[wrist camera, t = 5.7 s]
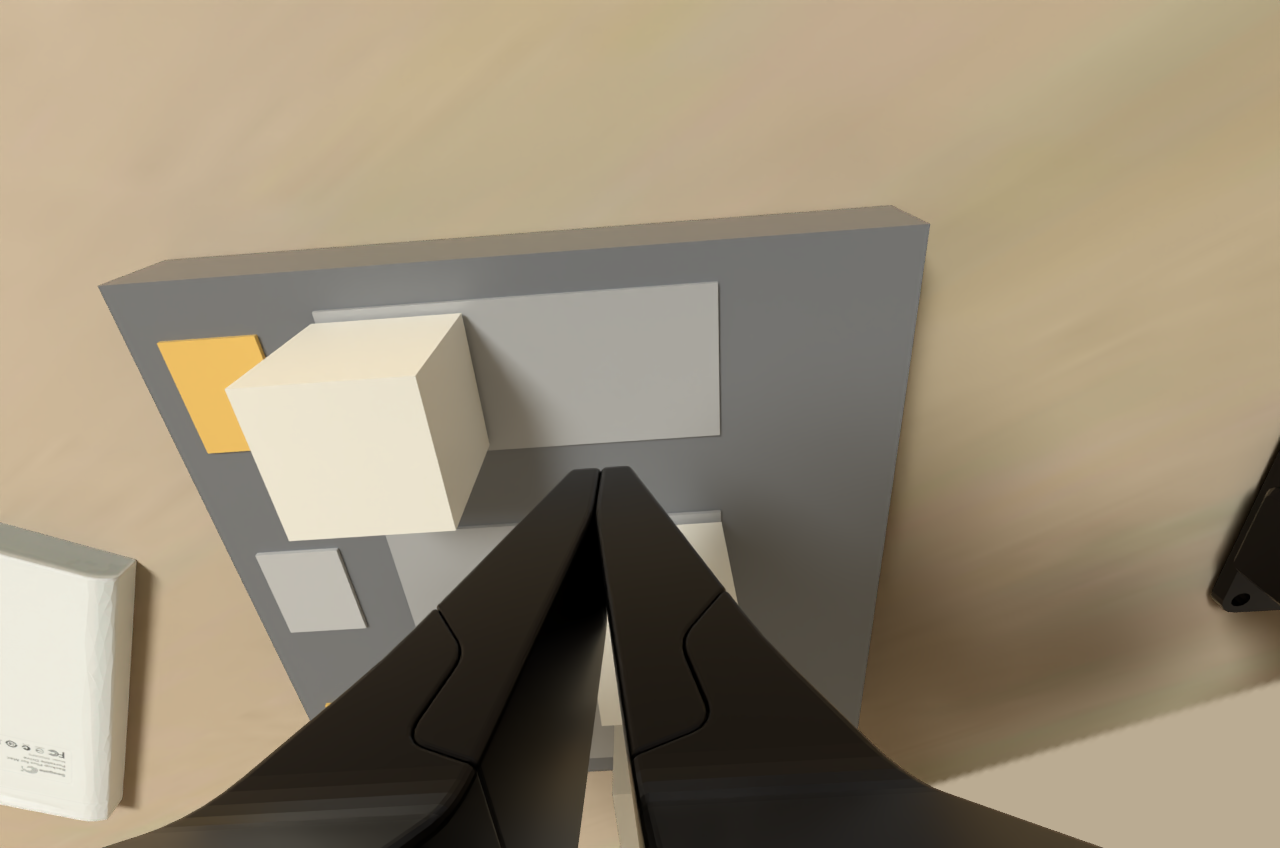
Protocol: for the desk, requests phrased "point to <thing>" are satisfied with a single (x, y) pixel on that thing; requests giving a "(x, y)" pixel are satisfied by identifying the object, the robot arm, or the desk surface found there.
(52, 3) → the desk surface
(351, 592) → the switch panel
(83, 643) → the external hard drive
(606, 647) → the tab
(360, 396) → the tab
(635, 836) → the tab
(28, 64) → the desk surface
